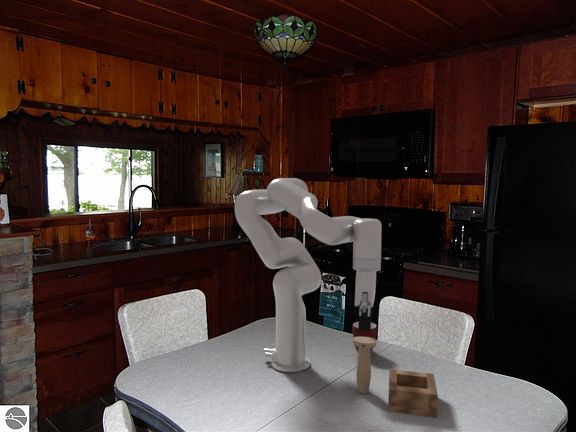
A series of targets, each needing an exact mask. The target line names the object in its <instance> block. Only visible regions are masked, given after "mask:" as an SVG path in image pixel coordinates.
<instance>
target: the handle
mask: <svg viewBox="0 0 576 432" xmlns="http://www.w3.org/2000/svg"><path fill="white" fill-rule="evenodd" d="M352 345H354V347H355V346H356V347H358V352H357V362H356V363H357V364H356V375H355V376H356V385H357V387H356V388H357V391H358V393H361V394H368V393H369V391H370V385H371V379H372V378H371V377H372V366H371V365H372V364H371V353H370V350H371V348H373V349H374V348H375V347H377V338H376V339H373V338H370V337H354V338H352Z"/></svg>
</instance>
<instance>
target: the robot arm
mask: <svg viewBox="0 0 576 432" xmlns="http://www.w3.org/2000/svg"><path fill="white" fill-rule="evenodd" d="M317 208H318V198H317V196H316V195H315V194H313V193H311V192H309V188H308V186H307V184H306V183H305V181H303V180H302V179H299V178H296V177H289V178H288V177H282V178H281V177H279V178H276V179H273V180H272V181H271V182H270V183H268V185H267V188H266V189H251V190H249V189H248V190H246V191H243V192H242V193H240V194H238V196H237V197H236V199H235V203H234V215H235V219H236V221H237V224H238V225H239V226H240V227H241V229H242V230H243V232H244V233H245V234H246V236H247V237H248V238H249V240H250V242H251V245H252V246H253V247H254V249H255V250H256V253H257V254H258V255H259V257H260V259H261V260H262V262H263V263H264V265H265V267H267V268H268V269H271V270H275V269H280V270H278V272H276V274H275V275H274V277H273V280H272V287H273V293H274V298H275V347H273V348H265V347H264V348H263V350H262V351H263V352H262V353H263V354H264V357H265V358H271V359H270V365H271V367H272V368H273V369H274V370H277V371H279V372H284V373H299V372H302V371H304V370H308V369H309V367H310V365H311V360H310V358H309V357H308V356H306V339H307V338H306V330H307V329H306V328H307V326H306V325H307V323H306V322H307V317H306V316H307V315H306V314H307V313H306V310H307V309H306V306H305V303H304V301H303V297H302V296H304V295H305V294H309V293H312V292H314V291H316V290H318V288H320V286H321V285H322V273H321V271H320V268H319V267H318V265H317V264H316V262H315V261H314V259H313V258H312V256H311V254H310V252H308V250H307V248H306V247H305V245H304V244H303V243H302V242H301V241H300V240H299V239H297V238H295V237H283V238H282V237H280V236H279V235H278V233H277V232H276V231H275V229H274V228H273V226H272V225H271V223H270V222H268V220H266V219H265V218H263V217H262V216H263V215H272V214H273V215H274V214H277V213H281V212H284V211H286V212H287V213H289V214H291V215H292V216H294V217H296V218H297V220H298V219H299V223H300V225H301V226H302V228H303V229H304V231H305V232H306V233H307V234H308V235H310V236H311V237H313V238H315V239H316V240H317V241H319V242H321V243H323V244H325V245H329V246H336V245H341V244H346V243H352V242H353V244H352V252H353V253H352V269H353V270H355V271H356V274H355V290H354V291H355V292H354V294H355V295H354V306H355V307H358V306H359V311H358V312H359V313H358V322H359V325H358V329H359V330H363V331H370V330H371V323H372V320H373V312H374V311H373V310H374V309H373V307H374V302H375V296H376V285H377V272H379V271H381V269H382V268H381V267H382V266H381V265H382V264H381V263H382V223H381V221H380V220H379V219H378V218H367V217H365V218H361V217H356V216H351V215H345V216H333V217H331V216H328V215H327V214H325V213H323V212H321V211H320V210H319V209H317ZM282 268H283V269H282Z"/></svg>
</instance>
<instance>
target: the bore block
mask: <svg viewBox="0 0 576 432" xmlns="http://www.w3.org/2000/svg"><path fill="white" fill-rule="evenodd" d="M438 396H439V395H438V389H437V384H436V379H435V374H434V373H430V372H429V373H427V372H418V371H410V370H398V369H391V368H390V369H389V373H388V398H387V399H388V402H387V403H388V404H387V407H388V408H387V412H390V413H392V412H393V413H400V414H408V415H415V416H421V417H423V416H424V417H429V418H438Z"/></svg>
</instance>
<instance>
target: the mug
mask: <svg viewBox="0 0 576 432" xmlns="http://www.w3.org/2000/svg"><path fill="white" fill-rule="evenodd" d="M358 325H359V321H355V322H352V337H353V338H354V337H370V338H373V339H376V340H377V333H378V332H377V329H378V328H377V324H375V323H374V322H371V330H370V331H363V330H359V329H358ZM353 338H352V339H353ZM354 348H355V351H356V352H357V353H358V347H356V346H355V345H354ZM373 349H374V347H373V348H371V350H370V354H371V353H372V352H373Z"/></svg>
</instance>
